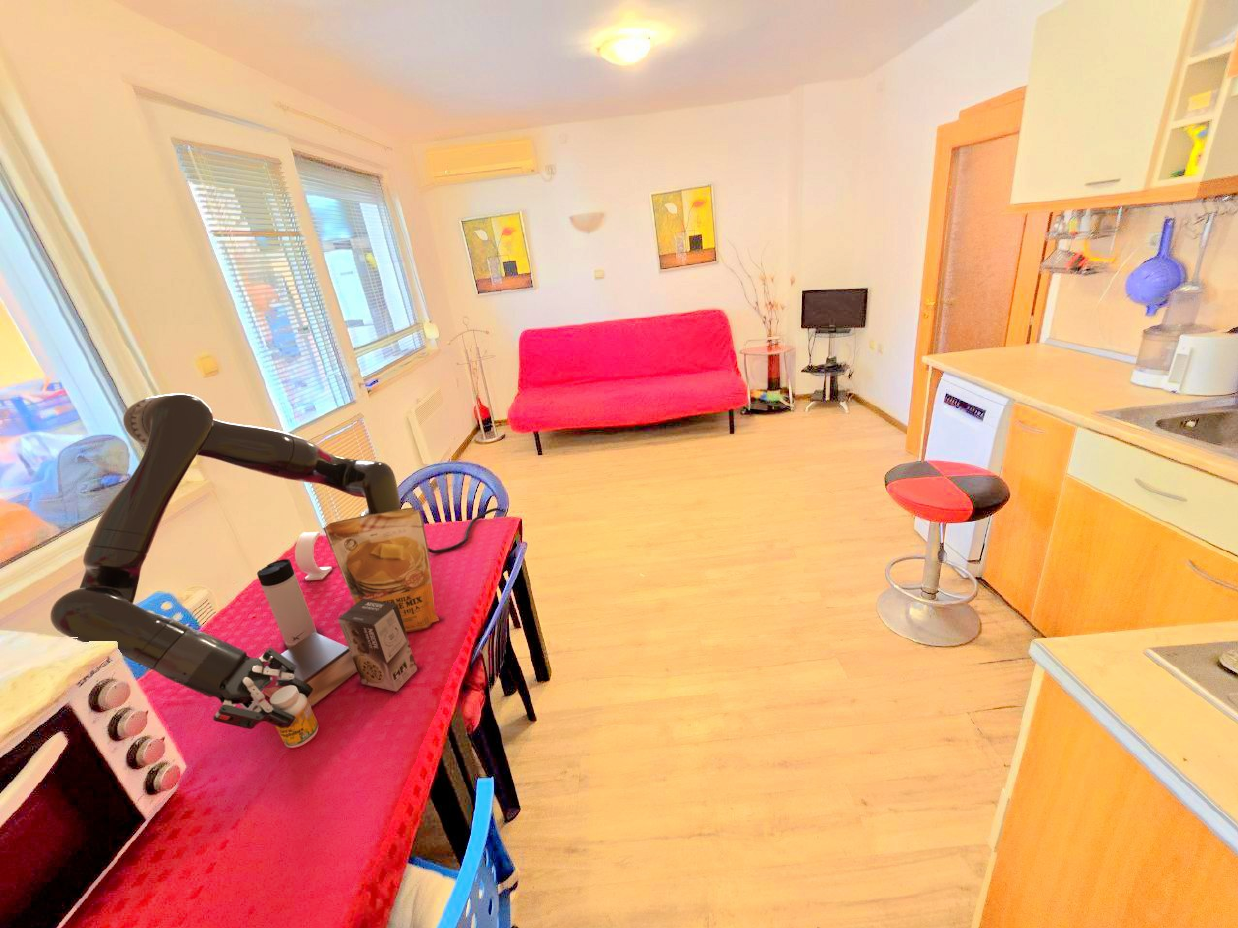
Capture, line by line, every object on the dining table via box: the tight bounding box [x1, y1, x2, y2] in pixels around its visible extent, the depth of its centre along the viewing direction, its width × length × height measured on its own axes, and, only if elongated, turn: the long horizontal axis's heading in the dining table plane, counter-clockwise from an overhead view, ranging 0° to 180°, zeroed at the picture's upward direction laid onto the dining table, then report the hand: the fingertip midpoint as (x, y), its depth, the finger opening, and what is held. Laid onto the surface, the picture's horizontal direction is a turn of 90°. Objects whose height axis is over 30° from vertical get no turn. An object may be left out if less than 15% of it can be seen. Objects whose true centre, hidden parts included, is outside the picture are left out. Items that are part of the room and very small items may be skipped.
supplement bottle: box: [269, 685, 319, 749], centre depth 86 cm, size 5×5×10 cm
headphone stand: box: [294, 531, 333, 581], centre depth 137 cm, size 5×6×12 cm
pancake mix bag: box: [322, 507, 440, 633], centre depth 110 cm, size 7×19×28 cm, turn 102°
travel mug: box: [256, 558, 318, 649], centre depth 110 cm, size 6×7×20 cm
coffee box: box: [337, 599, 418, 693], centre depth 98 cm, size 9×6×16 cm
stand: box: [262, 632, 358, 708], centre depth 100 cm, size 12×12×6 cm
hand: (301, 707), depth 86 cm, fingers closed on supplement bottle, 5 cm apart
